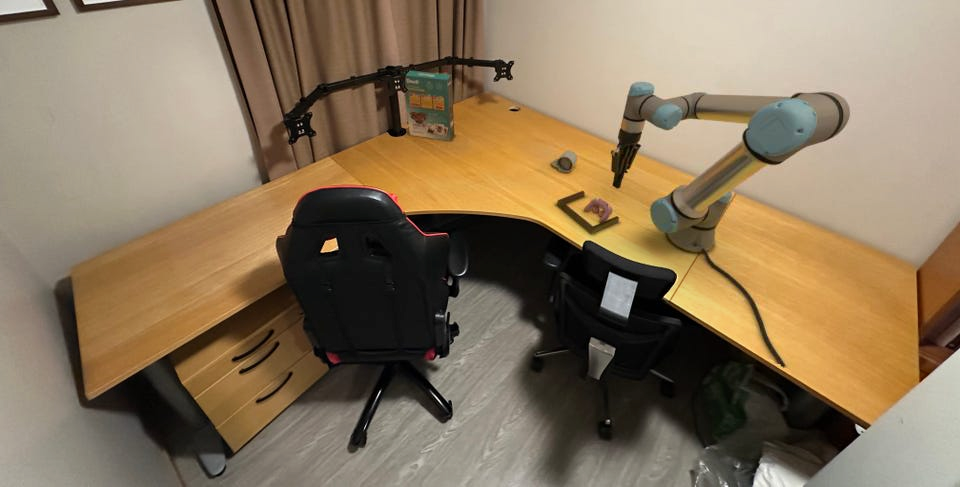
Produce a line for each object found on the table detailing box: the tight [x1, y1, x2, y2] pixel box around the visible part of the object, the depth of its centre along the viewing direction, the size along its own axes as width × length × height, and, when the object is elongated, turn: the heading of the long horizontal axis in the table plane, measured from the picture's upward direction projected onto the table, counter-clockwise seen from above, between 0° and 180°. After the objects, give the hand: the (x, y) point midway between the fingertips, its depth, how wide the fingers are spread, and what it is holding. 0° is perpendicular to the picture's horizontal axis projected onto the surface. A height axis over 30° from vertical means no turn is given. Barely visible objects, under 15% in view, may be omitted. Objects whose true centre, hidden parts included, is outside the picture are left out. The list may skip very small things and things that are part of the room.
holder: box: [556, 190, 620, 235], centre depth 154 cm, size 20×13×2 cm, turn 31°
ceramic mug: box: [551, 150, 578, 173], centre depth 177 cm, size 11×8×8 cm
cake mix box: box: [404, 70, 455, 142], centre depth 192 cm, size 22×6×30 cm, turn 74°
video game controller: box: [584, 197, 614, 223], centre depth 152 cm, size 10×5×7 cm, turn 34°
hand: (616, 186), depth 153 cm, fingers closed
